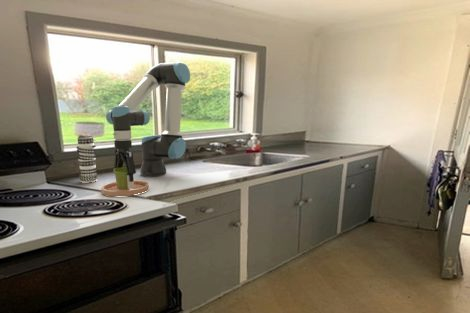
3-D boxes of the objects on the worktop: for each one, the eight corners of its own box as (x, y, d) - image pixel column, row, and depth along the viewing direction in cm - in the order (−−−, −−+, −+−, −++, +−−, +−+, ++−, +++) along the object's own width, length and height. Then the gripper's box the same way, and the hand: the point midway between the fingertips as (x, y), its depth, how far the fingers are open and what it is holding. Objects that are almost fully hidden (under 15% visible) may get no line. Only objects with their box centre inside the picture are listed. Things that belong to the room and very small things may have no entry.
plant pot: (113, 190, 139) (113, 172, 137) (112, 184, 147) (112, 167, 145) (134, 190, 143) (135, 172, 141) (132, 183, 151) (133, 166, 149)
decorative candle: (90, 178, 168) (87, 133, 164) (102, 180, 164) (98, 134, 160) (75, 182, 160) (71, 135, 156) (87, 184, 156) (83, 135, 152)
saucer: (94, 190, 144) (94, 185, 144) (136, 183, 158) (136, 178, 158) (112, 200, 129) (112, 194, 129) (156, 190, 144) (156, 185, 143)
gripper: (104, 138, 145) (108, 183, 149) (125, 142, 129) (128, 192, 133) (120, 137, 151) (122, 180, 154) (142, 140, 134) (144, 189, 138)
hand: (125, 185), depth 143 cm, fingers open, 10 cm apart
